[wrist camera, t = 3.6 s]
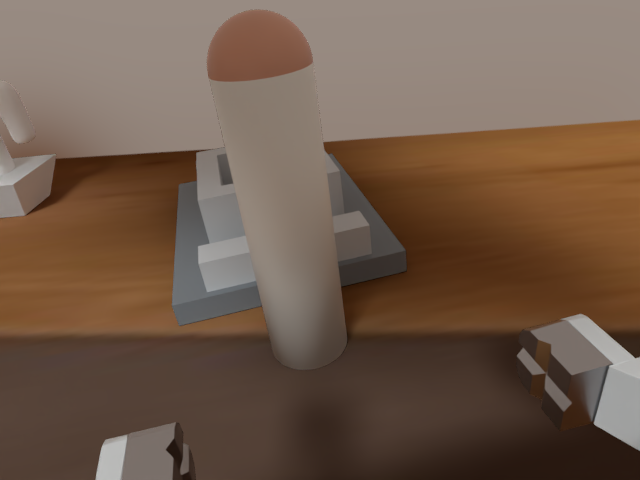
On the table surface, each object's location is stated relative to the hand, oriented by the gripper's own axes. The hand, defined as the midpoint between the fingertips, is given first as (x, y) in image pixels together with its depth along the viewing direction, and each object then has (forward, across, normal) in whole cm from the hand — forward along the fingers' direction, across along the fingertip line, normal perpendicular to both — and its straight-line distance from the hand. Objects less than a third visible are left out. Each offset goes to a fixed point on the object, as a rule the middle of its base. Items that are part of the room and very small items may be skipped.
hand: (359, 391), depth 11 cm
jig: (+24, 0, +9) cm, 26 cm away
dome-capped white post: (+12, 0, +9) cm, 15 cm away
